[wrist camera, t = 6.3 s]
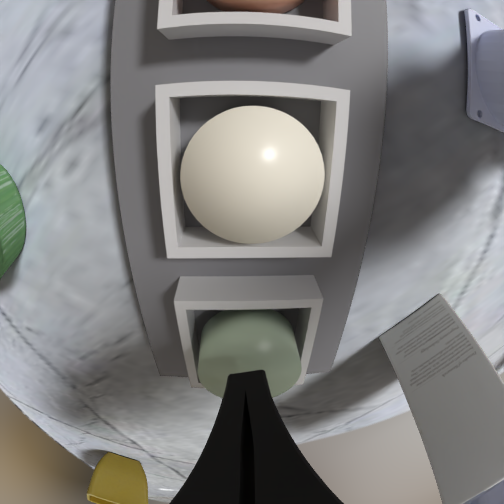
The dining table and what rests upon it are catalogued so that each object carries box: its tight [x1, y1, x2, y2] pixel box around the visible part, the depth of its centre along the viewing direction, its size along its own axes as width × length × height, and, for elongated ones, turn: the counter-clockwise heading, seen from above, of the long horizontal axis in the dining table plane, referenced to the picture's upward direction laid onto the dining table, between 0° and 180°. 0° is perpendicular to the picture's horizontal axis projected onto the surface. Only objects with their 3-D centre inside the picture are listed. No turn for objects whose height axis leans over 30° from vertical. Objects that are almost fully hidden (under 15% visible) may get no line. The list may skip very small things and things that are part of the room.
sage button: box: [198, 309, 302, 398], centre depth 14 cm, size 5×5×2 cm
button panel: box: [111, 0, 388, 388], centre depth 12 cm, size 12×28×4 cm, turn 179°
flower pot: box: [87, 452, 148, 504], centre depth 29 cm, size 9×9×9 cm
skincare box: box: [379, 294, 504, 504], centre depth 15 cm, size 8×7×16 cm
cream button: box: [180, 106, 325, 244], centre depth 11 cm, size 5×5×2 cm
